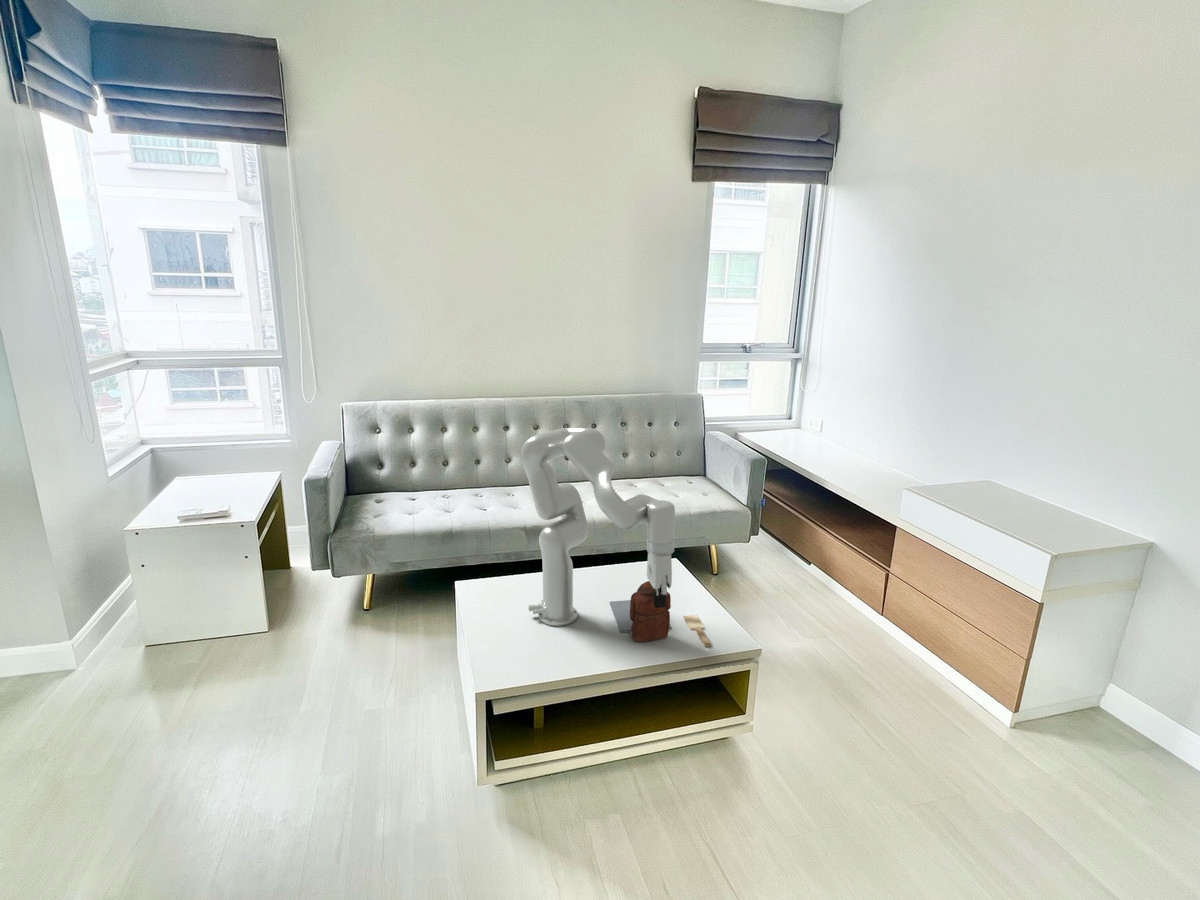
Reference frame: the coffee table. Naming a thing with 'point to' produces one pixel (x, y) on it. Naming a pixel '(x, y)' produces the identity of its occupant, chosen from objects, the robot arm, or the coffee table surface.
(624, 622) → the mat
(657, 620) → the wooden figurine
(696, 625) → the turner
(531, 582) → the coffee table surface
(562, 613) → the robot arm
